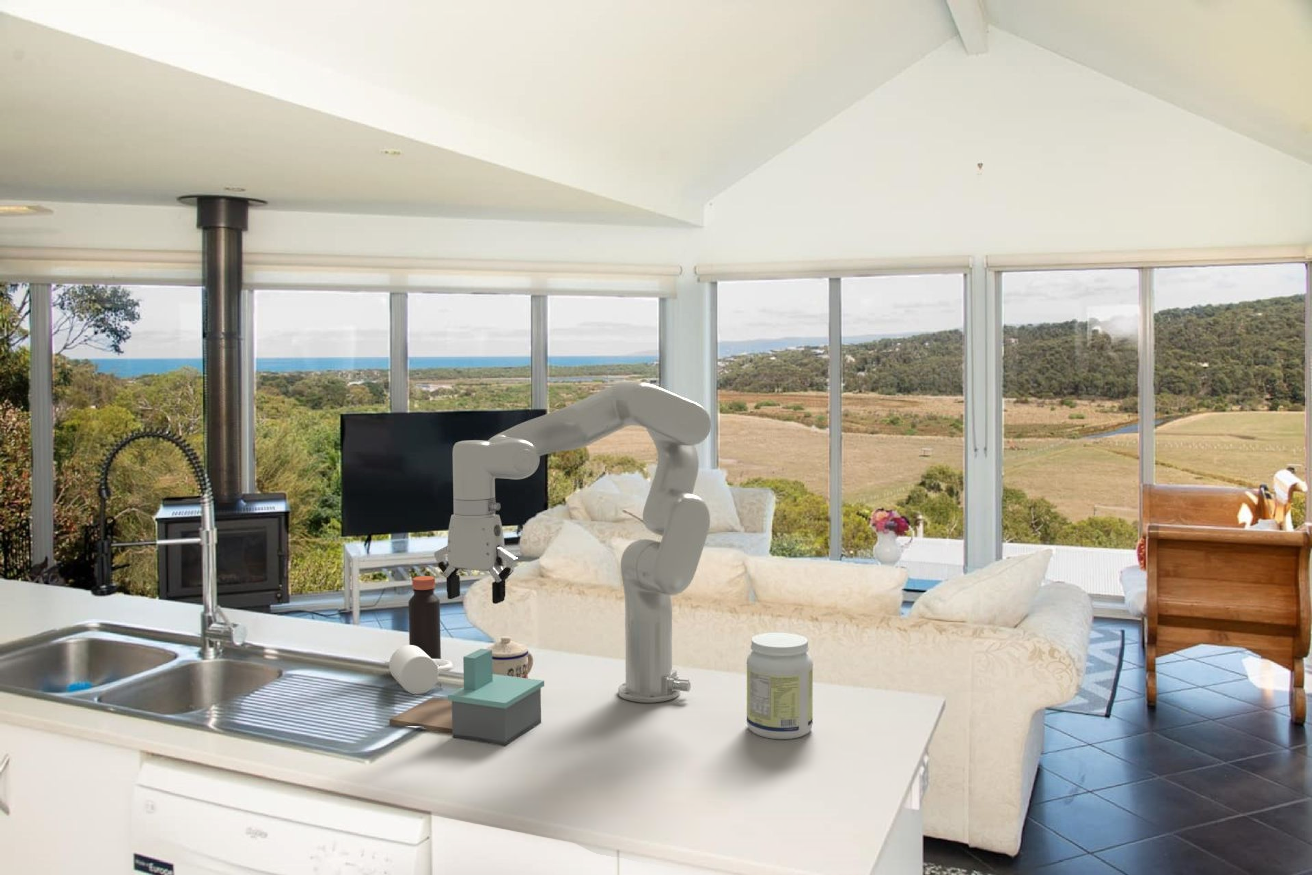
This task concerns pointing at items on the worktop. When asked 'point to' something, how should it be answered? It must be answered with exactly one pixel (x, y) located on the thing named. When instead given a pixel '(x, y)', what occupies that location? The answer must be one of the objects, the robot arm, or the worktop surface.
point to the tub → (496, 720)
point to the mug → (416, 669)
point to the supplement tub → (779, 686)
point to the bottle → (425, 617)
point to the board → (428, 716)
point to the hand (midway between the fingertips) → (475, 599)
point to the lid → (491, 683)
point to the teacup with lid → (510, 658)
